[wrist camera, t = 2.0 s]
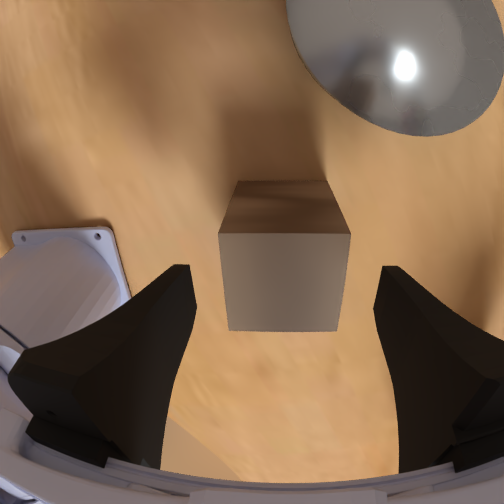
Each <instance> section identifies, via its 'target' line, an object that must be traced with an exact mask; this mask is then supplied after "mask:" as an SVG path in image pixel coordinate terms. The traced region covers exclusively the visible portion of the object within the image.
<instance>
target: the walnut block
mask: <svg viewBox="0 0 504 504" xmlns="http://www.w3.org/2000/svg"><path fill="white" fill-rule="evenodd" d="M218 239H219V249H220V258H221V267H222V276H223V285H224V294H225V303H226V311H227V320H228V328H229V331H260V332H331V331H337V328H338V322H339V316H340V310H341V304H342V298H343V291H344V285H345V278H346V270H347V263H348V255H349V247H350V239H351V233H350V230H349V228H348V226H347V223H346V221H345V219H344V217H343V214H342V212H341V210H340V208H339V205H338V203H337V201H336V199H335V197H334V194H333V192H332V190H331V188H330V186H329V184H328V182H327V181H238V184H237V186H236V189H235V191H234V194H233V196H232V199H231V201H230V204H229V206H228V209H227V212H226V214H225V217H224V219H223V222H222V224H221V227H220V230H219V232H218Z"/></svg>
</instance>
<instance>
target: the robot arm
mask: <svg viewBox="0 0 504 504" xmlns="http://www.w3.org/2000/svg"><path fill="white" fill-rule="evenodd" d="M97 233H99V234H100V236H101V237H99V236H98V235H97ZM12 240H13V243H14V247H13V248H12V249H11V250H10V251H8V252H7V253H6V254H5V255H4V256H3V257H2V258H1V259H0V504H504V341H503V340H501V339H499V338H497V337H495V336H493V335H491V334H489V333H487V332H485V331H483V330H482V329H480V328H478V327H476V326H475V325H473V324H471V323H470V322H468V321H467V320H465V319H464V318H462V317H461V316H459V315H458V314H456V313H455V312H454V311H452V310H451V309H450V308H448V307H447V306H446V305H445V304H443V303H442V302H441V301H439V300H438V299H437V298H436V297H434V296H433V295H432V294H431V293H430V292H428V291H427V290H426V289H425V288H424V287H423V286H421V285H420V284H419V283H418V282H417V281H416V280H414V279H413V278H412V277H411V276H410V275H409V274H407V273H406V272H405V271H404V270H402V269H401V268H400V267H398V266H382V271H381V276H380V280H379V285H378V290H377V294H376V299H375V303H374V307H373V310H374V316H375V322H376V327H377V332H378V335H379V339H380V342H381V345H382V348H383V352H384V355H385V358H386V362H387V365H388V368H389V372H390V375H391V379H392V383H393V388H394V395H395V402H396V411H397V421H398V435H399V474H395V475H388V476H382V477H375V478H367V479H359V480H349V481H337V482H321V483H260V482H243V481H231V480H221V479H212V478H204V477H197V476H191V475H184V474H179V473H173V472H168V471H162V470H160V465H161V455H162V454H161V453H162V446H163V438H164V431H165V424H166V418H167V413H168V408H169V403H170V398H171V393H172V389H173V384H174V381H175V377H176V374H177V371H178V368H179V366H180V363H181V360H182V357H183V354H184V352H185V349H186V346H187V343H188V341H189V338H190V335H191V332H192V329H193V324H194V320H195V315H196V310H197V304H196V299H195V293H194V288H193V282H192V276H191V271H190V265H183V264H174V265H173V266H171V267H170V268H169V269H167V270H166V271H165V272H164V273H162V274H161V275H160V276H159V277H157V278H156V279H155V280H154V281H153V282H151V283H150V284H149V285H148V286H146V287H145V288H144V289H143V290H142V291H140V292H139V293H138V294H136V295H135V296H134V297H132V298H131V295H130V292H129V288H128V285H127V282H126V278H125V275H124V272H123V268H122V265H121V261H120V257H119V254H118V250H117V246H116V242H115V238H114V234H113V232H112V230H111V229H110V228H108V227H80V228H59V229H39V230H22V231H15V232H14V233H13V234H12Z"/></svg>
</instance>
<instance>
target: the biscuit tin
mask: <svg viewBox="0 0 504 504" xmlns="http://www.w3.org/2000/svg"><path fill="white" fill-rule="evenodd" d="M286 11H287V18H288V24H289V27H290V31H291V35H292V39H293V42H294V45H295V48H296V50H297V52H298V55H299V57H300V59H301V60H302V62H303V64H304V66H305V67H306V69H307V70H308V72H309V73H310V74H311V76H312V77H313V78H314V80H315V81H316V82H317V83H318V84H319V85H320V86H321V87H322V88H323V89H324V90H325V91H326V92H327V93H328V94H330V95H331V96H332V97H333V98H334V99H336V100H337V101H338V102H339V103H341V104H342V105H343V106H345V107H346V108H347V109H349V110H350V111H352V112H353V113H354V114H356V115H358V116H360V117H361V118H363V119H365V120H367V121H368V122H371V123H373V124H375V125H377V126H380V127H382V128H384V129H387V130H391V131H394V132H397V133H401V134H406V135H412V136H438V135H444V134H448V133H452V132H455V131H457V130H459V129H462V128H464V127H466V126H467V125H469V124H471V123H472V122H474V121H475V120H476V119H477V118H479V117H480V116H481V115H482V114H483V113H484V112H485V111H486V109H487V108H488V107H489V106H490V104H491V103H492V101H493V100H494V98H495V96H496V94H497V92H498V90H499V87H500V85H501V81H502V77H503V74H504V35H503V31H502V27H501V23H500V20H499V17H498V14H497V12H496V9H495V7H494V5H493V3H492V1H491V0H286Z"/></svg>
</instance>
